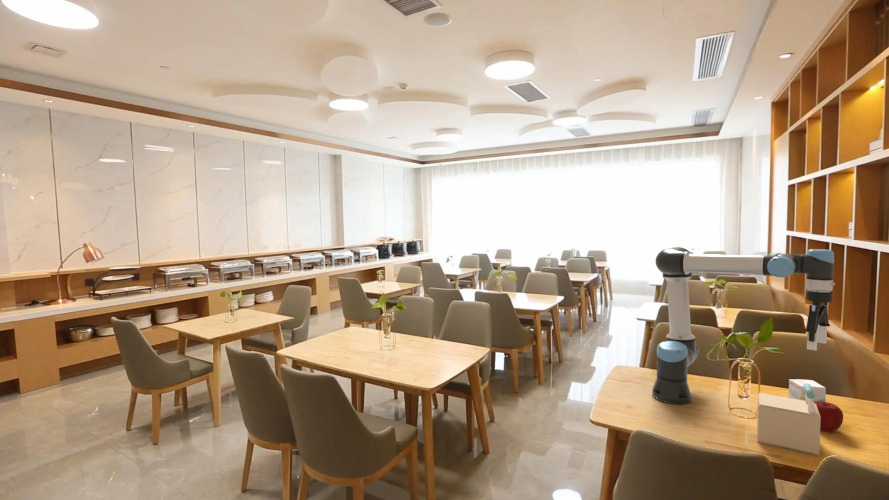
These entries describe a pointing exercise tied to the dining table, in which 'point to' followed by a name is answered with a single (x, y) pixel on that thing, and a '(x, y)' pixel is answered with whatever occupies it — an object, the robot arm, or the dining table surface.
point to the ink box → (799, 392)
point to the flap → (791, 402)
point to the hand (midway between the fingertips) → (816, 346)
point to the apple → (829, 416)
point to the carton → (789, 429)
